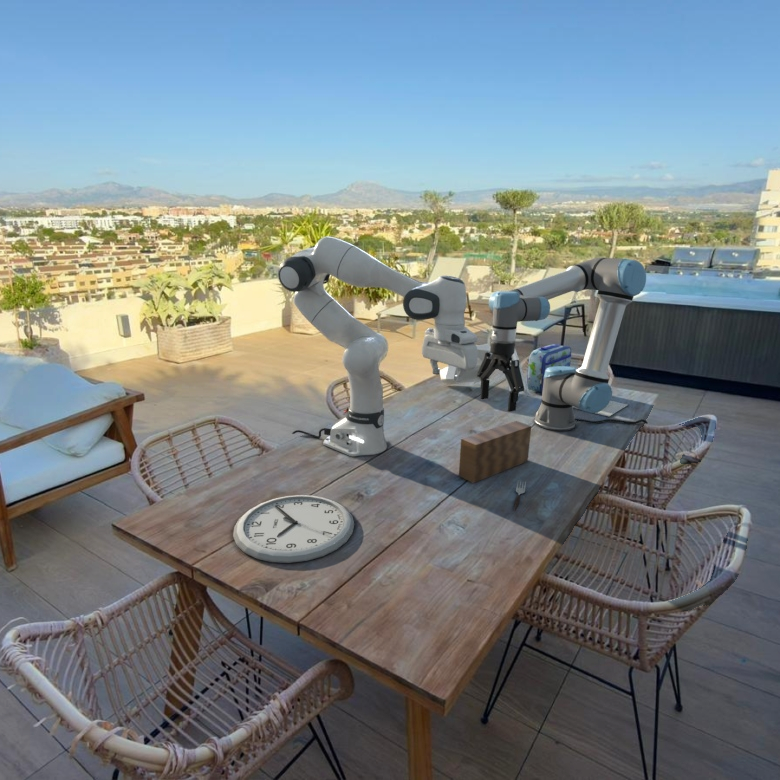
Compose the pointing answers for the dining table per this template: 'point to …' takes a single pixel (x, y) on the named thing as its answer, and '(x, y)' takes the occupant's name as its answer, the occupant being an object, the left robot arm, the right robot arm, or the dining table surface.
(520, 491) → the fork
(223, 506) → the dining table surface
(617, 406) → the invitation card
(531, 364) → the lunch box
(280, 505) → the wall clock
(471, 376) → the white plastic object
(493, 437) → the box
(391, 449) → the dining table surface
